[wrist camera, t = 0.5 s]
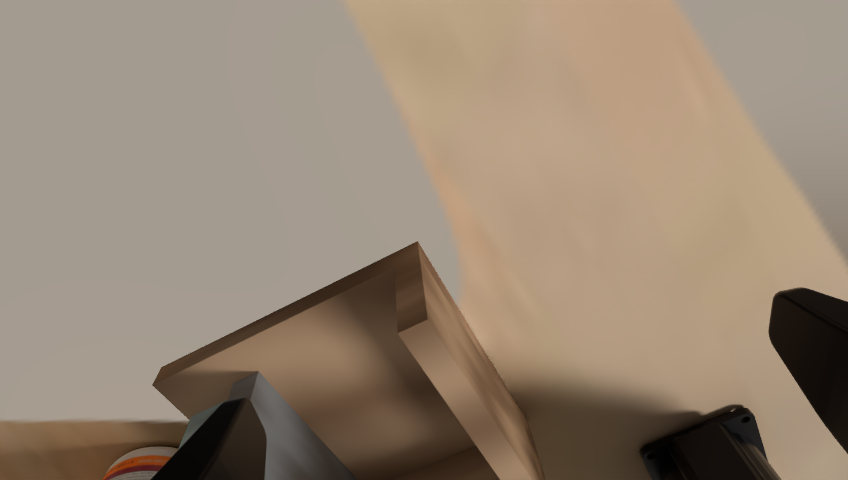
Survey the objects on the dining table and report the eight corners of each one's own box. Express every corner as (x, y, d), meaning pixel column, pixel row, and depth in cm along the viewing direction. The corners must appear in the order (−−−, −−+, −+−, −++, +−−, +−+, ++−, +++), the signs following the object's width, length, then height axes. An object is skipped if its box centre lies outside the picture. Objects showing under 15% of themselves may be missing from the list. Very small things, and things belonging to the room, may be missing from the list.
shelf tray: (527, 421, 30) (560, 528, 24) (310, 511, 32) (296, 627, 26) (417, 241, 24) (429, 328, 18) (161, 367, 26) (104, 478, 21)
